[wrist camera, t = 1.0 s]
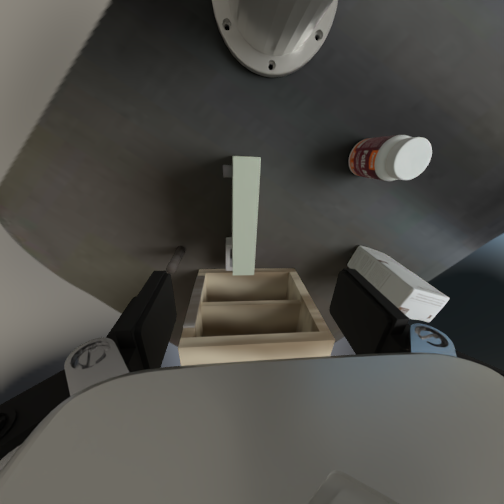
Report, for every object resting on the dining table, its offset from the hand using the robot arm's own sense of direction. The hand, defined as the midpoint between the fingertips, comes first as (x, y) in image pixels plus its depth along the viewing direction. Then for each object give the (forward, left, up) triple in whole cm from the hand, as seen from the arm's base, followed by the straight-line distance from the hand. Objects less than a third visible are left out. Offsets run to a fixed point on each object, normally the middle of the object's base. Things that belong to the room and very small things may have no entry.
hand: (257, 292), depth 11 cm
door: (+1, 0, -20) cm, 20 cm away
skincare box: (+9, +22, -20) cm, 31 cm away
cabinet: (+14, 0, -20) cm, 25 cm away
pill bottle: (-7, +17, -20) cm, 27 cm away
